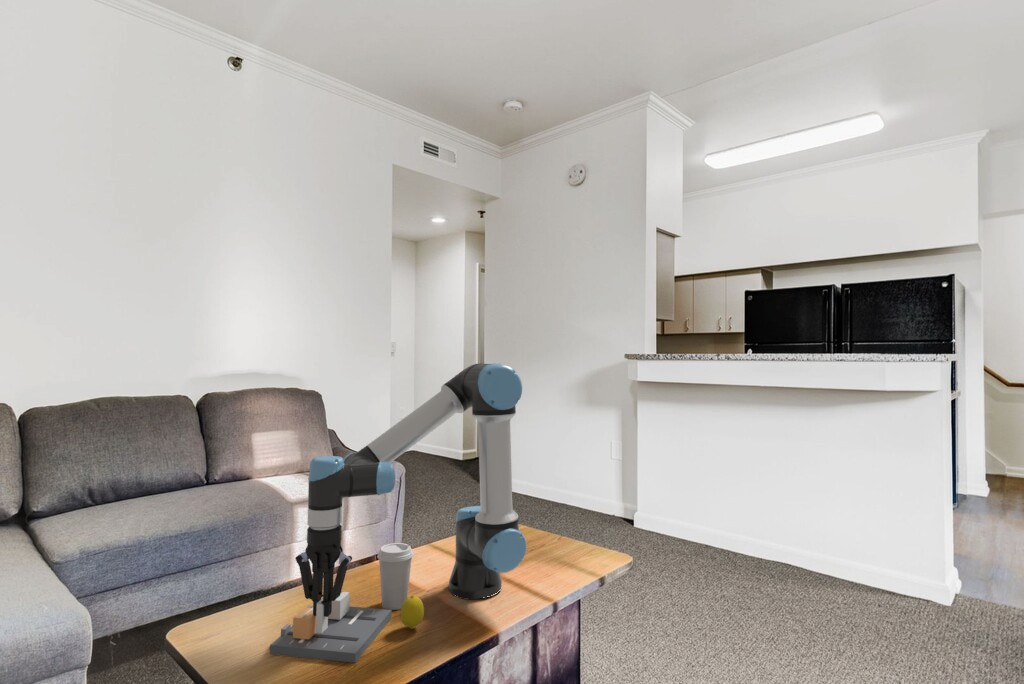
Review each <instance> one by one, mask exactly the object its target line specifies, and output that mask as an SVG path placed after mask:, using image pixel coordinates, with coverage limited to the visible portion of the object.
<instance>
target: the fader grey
mask: <svg viewBox="0 0 1024 684" xmlns="http://www.w3.org/2000/svg"><path fill="white" fill-rule="evenodd" d="M349 607H350V592H349V591H343V590H341V594H340V596H339V597H338V598H337V599H336V600H335V601H332V612H331V614H330V615H329V616H328V619H337V620H340V619H341V618H342V617H343V616H344V615H345V614H346V613H347V612H348V611H349Z"/></svg>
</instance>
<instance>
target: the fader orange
mask: <svg viewBox="0 0 1024 684" xmlns="http://www.w3.org/2000/svg"><path fill="white" fill-rule="evenodd" d="M292 626H293V638H300V639H310V638H311V637H312V636H313V635H314V634H315V633H316V616H314V615H313V608H307V607H304V608H303V609H302V610H300V611H299V612H298V613H297V614H295V616H293V617H292Z"/></svg>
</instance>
